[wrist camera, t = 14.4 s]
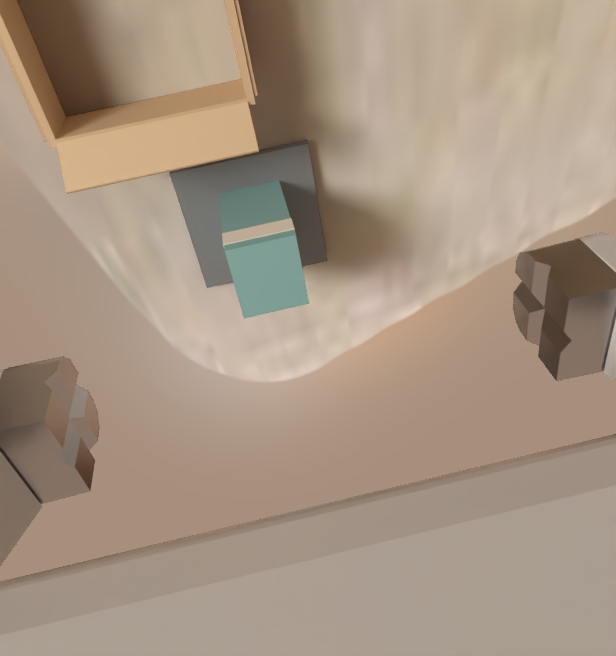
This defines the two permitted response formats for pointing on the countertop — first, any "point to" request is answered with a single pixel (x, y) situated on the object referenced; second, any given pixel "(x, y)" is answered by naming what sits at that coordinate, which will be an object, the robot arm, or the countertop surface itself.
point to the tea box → (262, 249)
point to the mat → (241, 172)
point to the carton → (135, 117)
